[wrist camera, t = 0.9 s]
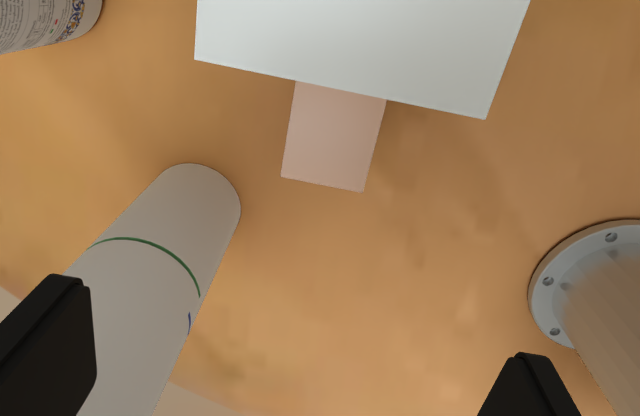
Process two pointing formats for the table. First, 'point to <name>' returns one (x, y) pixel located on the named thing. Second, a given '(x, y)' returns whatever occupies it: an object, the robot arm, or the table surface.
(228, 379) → the table surface
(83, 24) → the bath foam
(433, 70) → the lid
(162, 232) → the cylindrical container
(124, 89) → the table surface
